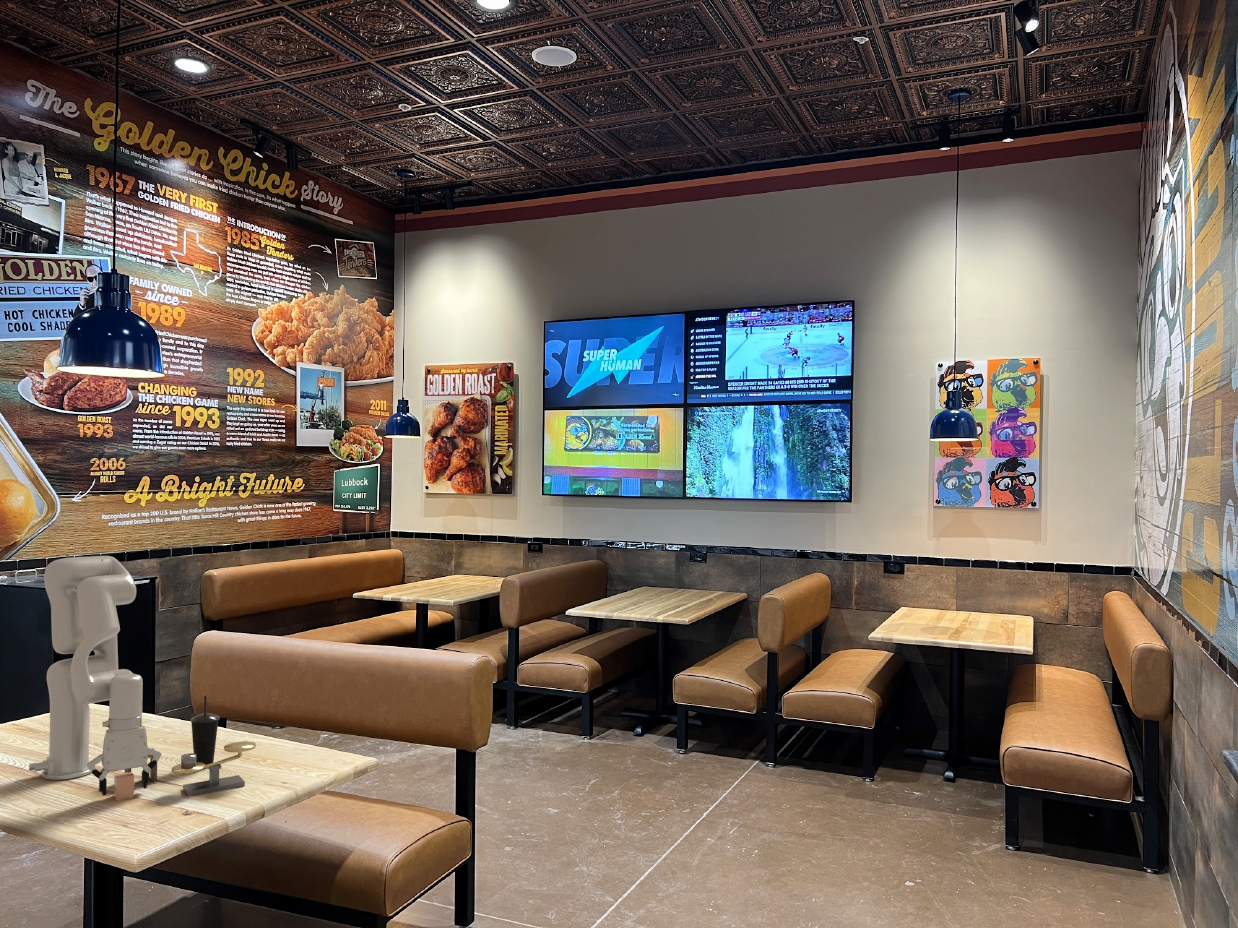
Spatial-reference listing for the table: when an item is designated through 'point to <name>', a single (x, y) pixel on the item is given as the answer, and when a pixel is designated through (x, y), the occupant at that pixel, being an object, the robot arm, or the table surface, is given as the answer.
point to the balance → (212, 770)
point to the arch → (152, 773)
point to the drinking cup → (204, 735)
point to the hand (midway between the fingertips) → (124, 790)
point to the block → (123, 785)
